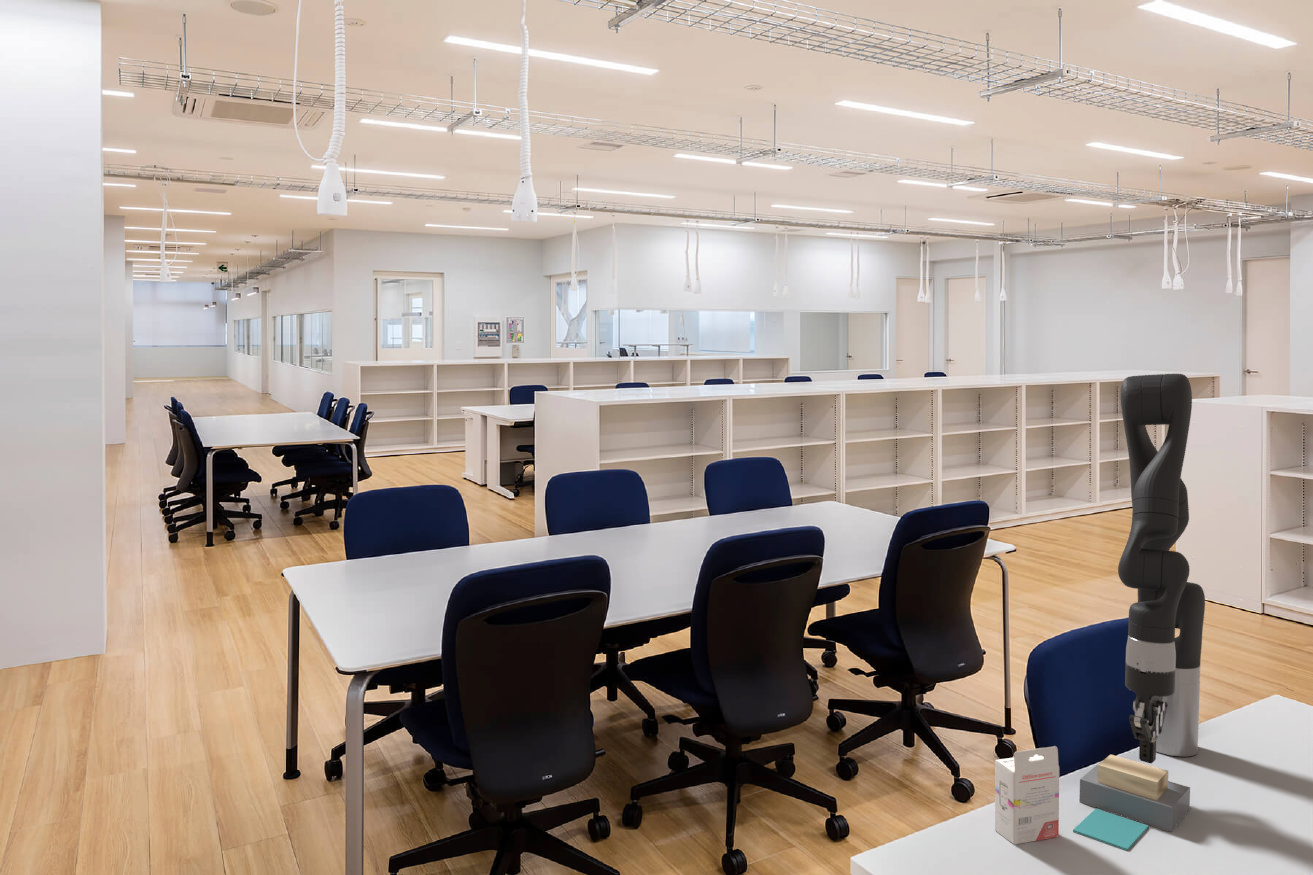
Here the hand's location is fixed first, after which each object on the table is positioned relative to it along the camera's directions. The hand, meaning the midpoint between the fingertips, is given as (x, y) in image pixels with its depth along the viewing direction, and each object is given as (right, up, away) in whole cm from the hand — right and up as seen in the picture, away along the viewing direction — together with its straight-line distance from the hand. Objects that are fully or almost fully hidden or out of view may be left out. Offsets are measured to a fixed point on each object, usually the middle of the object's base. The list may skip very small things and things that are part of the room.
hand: (1147, 760), depth 150 cm
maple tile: (-6, -1, -5) cm, 8 cm away
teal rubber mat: (-13, -7, -12) cm, 19 cm away
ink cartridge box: (-27, -7, -13) cm, 31 cm away
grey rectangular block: (-5, -6, -4) cm, 9 cm away
